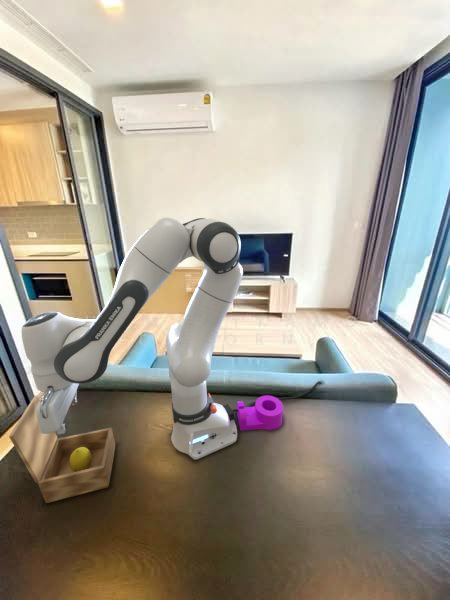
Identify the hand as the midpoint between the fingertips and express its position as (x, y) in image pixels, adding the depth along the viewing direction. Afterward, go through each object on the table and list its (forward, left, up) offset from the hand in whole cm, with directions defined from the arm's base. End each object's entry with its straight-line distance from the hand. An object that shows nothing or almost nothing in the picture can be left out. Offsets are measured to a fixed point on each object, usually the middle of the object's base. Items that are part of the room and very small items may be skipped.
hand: (68, 417), depth 67 cm
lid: (+8, 0, -4) cm, 9 cm away
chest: (0, 0, -21) cm, 21 cm away
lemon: (0, 0, -20) cm, 20 cm away
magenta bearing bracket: (-58, -4, -21) cm, 62 cm away
